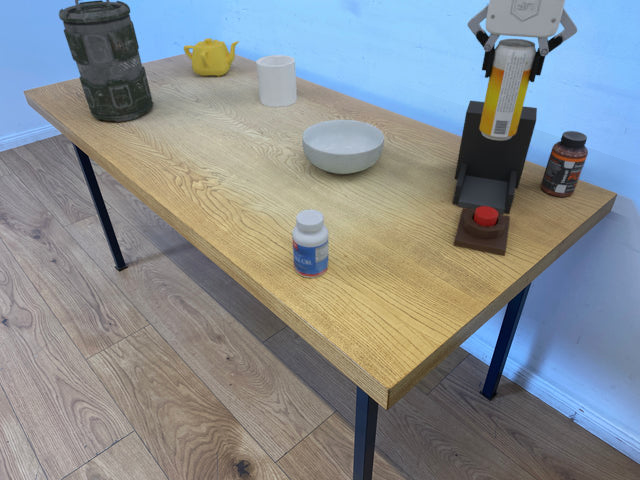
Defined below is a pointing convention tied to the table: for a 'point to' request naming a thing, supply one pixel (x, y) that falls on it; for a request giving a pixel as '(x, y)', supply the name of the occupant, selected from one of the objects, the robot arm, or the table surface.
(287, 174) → the table surface
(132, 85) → the canister
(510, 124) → the beer can
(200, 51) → the teapot
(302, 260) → the pill bottle
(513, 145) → the dark grey cradle
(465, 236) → the button block
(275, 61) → the mug
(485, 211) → the button
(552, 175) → the supplement bottle
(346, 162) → the cereal bowl
